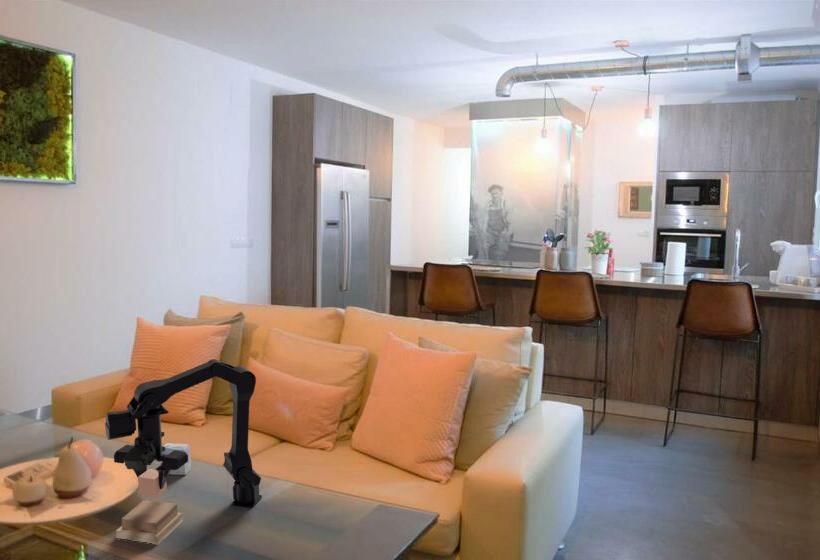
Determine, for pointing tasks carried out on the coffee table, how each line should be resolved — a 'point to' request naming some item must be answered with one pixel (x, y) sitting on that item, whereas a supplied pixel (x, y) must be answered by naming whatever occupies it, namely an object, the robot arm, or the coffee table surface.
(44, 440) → the coffee table surface
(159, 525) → the walnut slab
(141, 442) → the robot arm
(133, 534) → the birch slab
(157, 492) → the terracotta block
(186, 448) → the medicine box
